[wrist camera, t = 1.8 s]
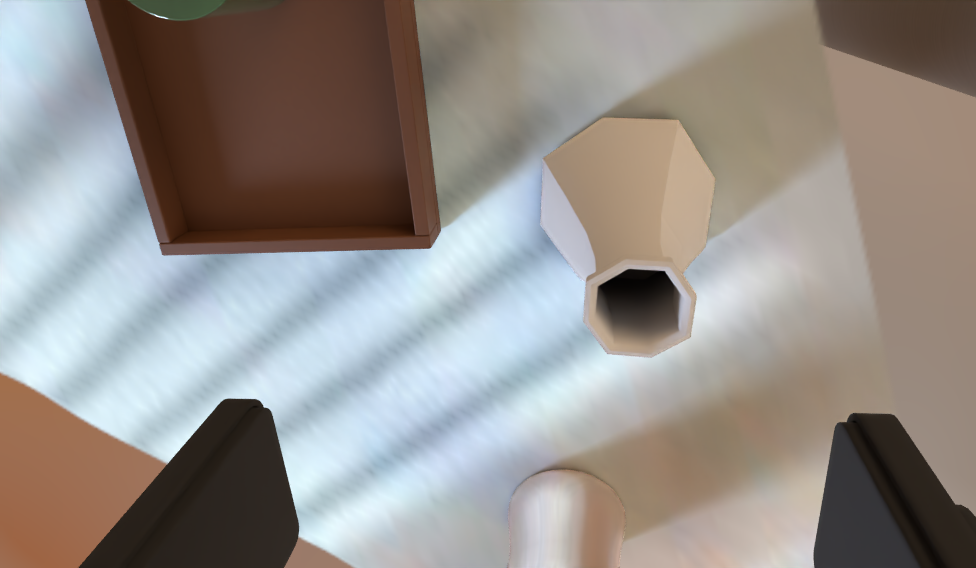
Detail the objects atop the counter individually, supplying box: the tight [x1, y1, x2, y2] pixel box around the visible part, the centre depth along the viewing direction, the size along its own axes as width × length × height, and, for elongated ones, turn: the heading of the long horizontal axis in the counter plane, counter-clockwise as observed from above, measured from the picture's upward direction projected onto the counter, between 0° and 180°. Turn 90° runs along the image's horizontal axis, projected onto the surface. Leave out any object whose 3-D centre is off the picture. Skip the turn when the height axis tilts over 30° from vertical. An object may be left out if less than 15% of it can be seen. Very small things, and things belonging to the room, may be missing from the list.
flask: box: [540, 117, 716, 357], centre depth 24 cm, size 7×7×10 cm
